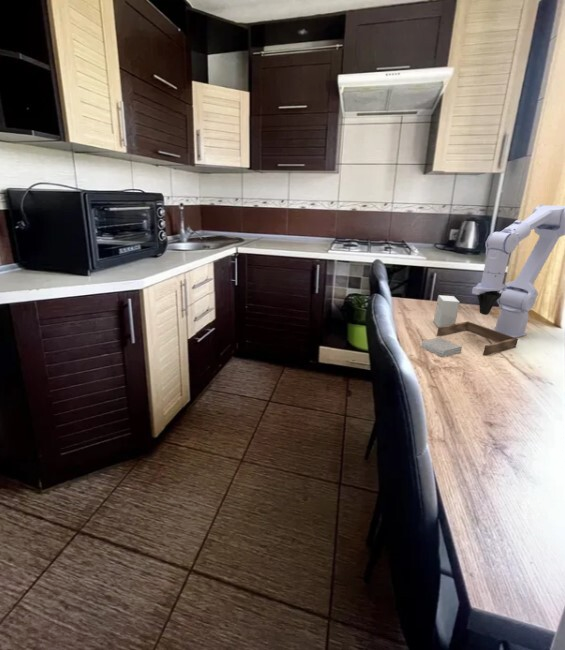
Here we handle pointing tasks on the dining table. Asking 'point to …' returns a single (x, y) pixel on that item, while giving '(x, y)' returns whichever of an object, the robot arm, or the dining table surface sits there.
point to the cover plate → (441, 347)
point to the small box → (446, 310)
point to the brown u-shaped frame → (502, 339)
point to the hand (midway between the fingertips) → (483, 313)
